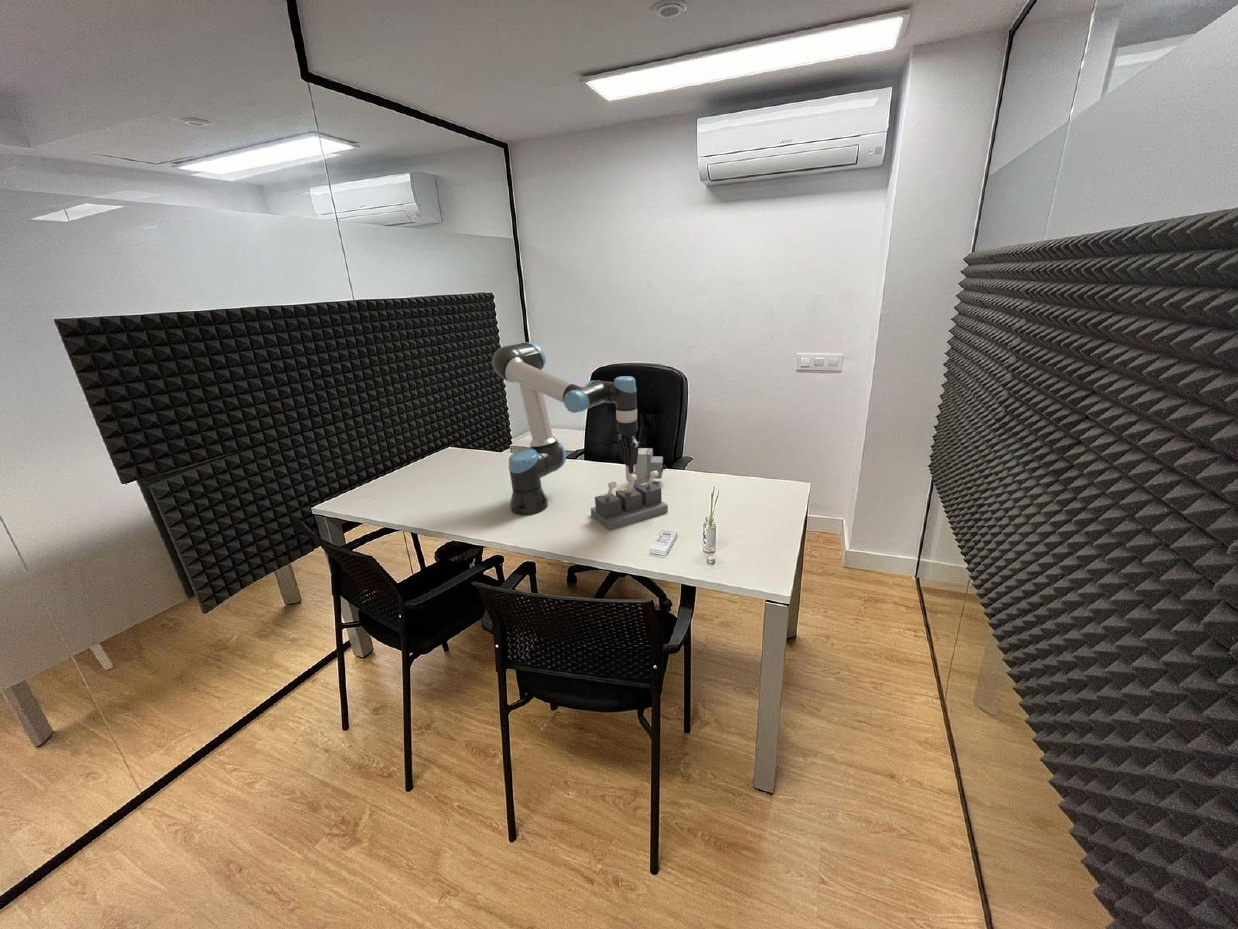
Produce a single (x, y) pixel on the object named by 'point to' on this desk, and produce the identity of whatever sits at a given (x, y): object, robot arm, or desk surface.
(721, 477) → the desk surface
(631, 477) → the handle
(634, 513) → the breaker board
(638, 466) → the circuit breaker
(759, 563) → the desk surface
